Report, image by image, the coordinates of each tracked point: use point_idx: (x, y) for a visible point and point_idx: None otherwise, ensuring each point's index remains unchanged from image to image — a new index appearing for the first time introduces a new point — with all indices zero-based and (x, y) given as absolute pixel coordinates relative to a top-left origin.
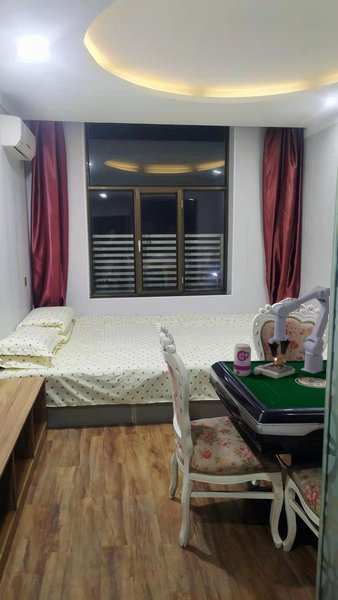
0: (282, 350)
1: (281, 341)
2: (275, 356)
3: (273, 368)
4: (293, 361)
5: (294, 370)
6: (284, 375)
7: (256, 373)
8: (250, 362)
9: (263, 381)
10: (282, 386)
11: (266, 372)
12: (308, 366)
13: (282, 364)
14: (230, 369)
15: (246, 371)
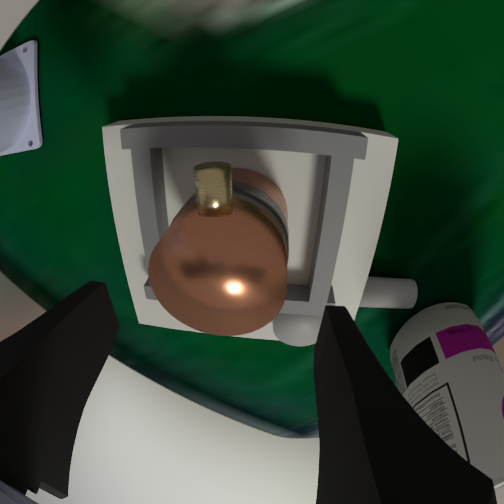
0: (91, 350)
1: (48, 477)
2: (343, 310)
3: (333, 226)
4: (5, 269)
5: (112, 124)
6: (269, 118)
7: (414, 285)
8: (450, 370)
9: (493, 178)
10: (493, 30)
11: (373, 245)
12: (6, 95)
13: (232, 190)
14: None
15: (472, 320)
